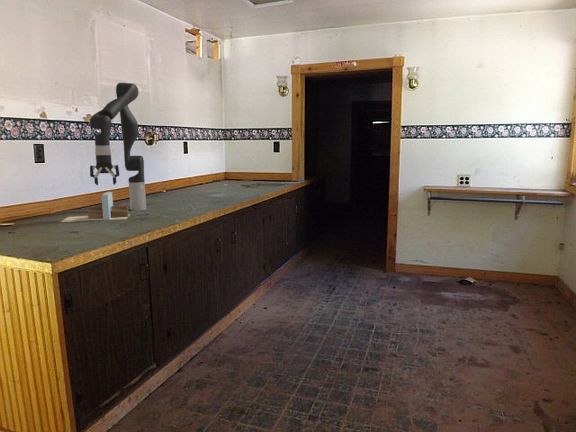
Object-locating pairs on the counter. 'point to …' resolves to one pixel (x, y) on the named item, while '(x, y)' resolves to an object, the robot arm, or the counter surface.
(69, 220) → the birch board
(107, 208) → the slotted cross plate
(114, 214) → the walnut slotted plate
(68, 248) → the counter surface
